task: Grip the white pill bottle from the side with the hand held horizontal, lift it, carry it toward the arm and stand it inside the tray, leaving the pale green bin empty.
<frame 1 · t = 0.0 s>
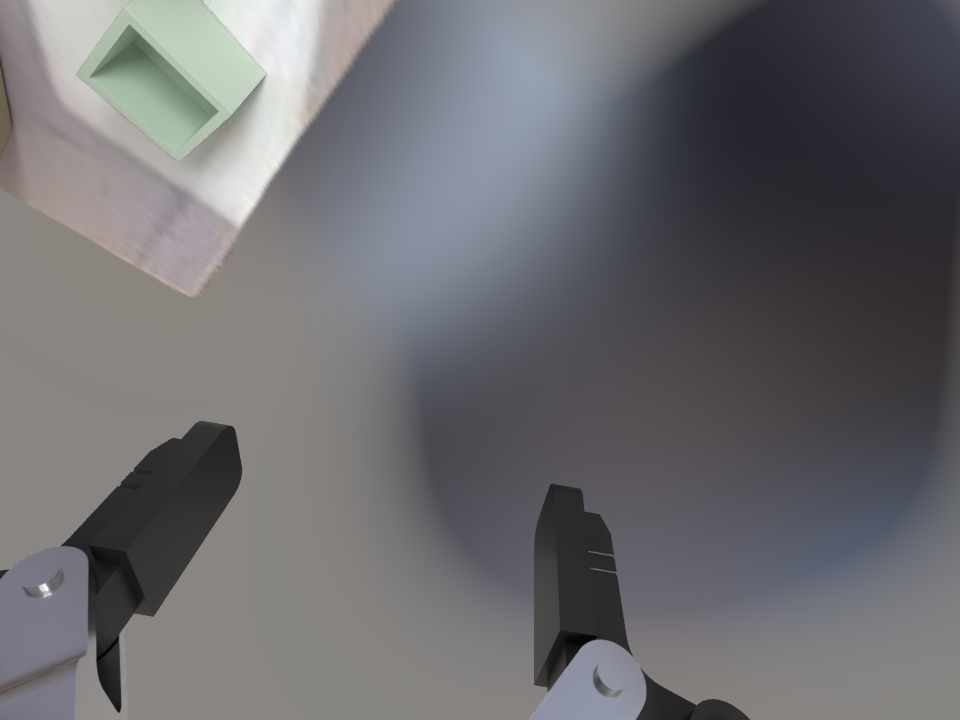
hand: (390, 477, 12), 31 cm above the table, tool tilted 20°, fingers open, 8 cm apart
pale green bin: (197, 55, 36), on the table
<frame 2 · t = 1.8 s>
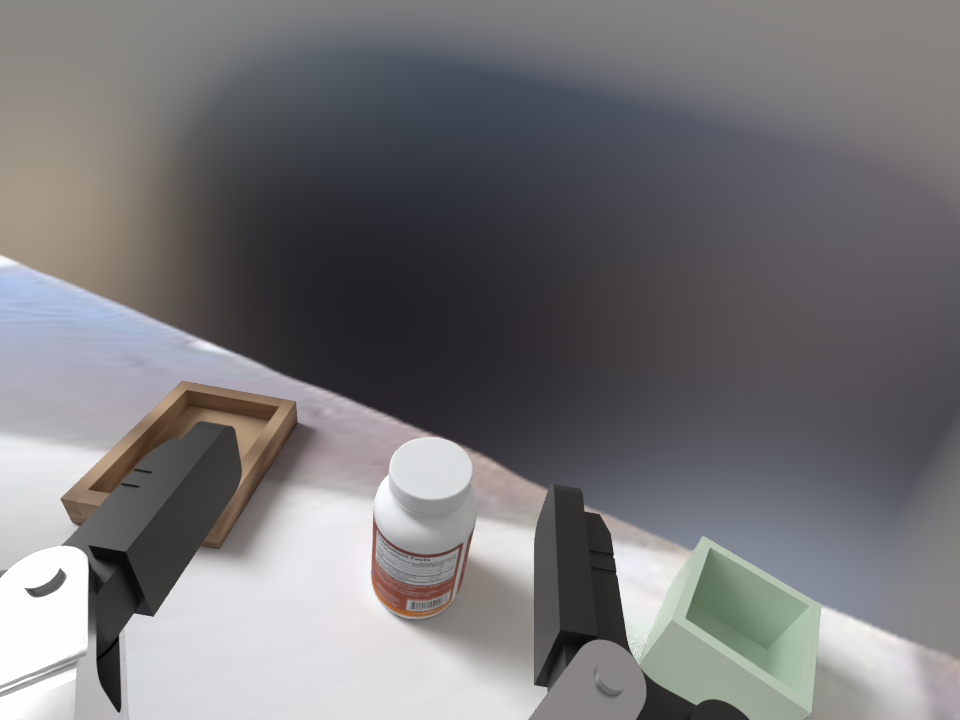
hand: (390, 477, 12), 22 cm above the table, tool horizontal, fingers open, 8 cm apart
pale green bin: (706, 660, 32), on the table
pill bottle: (416, 579, 33), on the table
tray: (200, 464, 38), on the table
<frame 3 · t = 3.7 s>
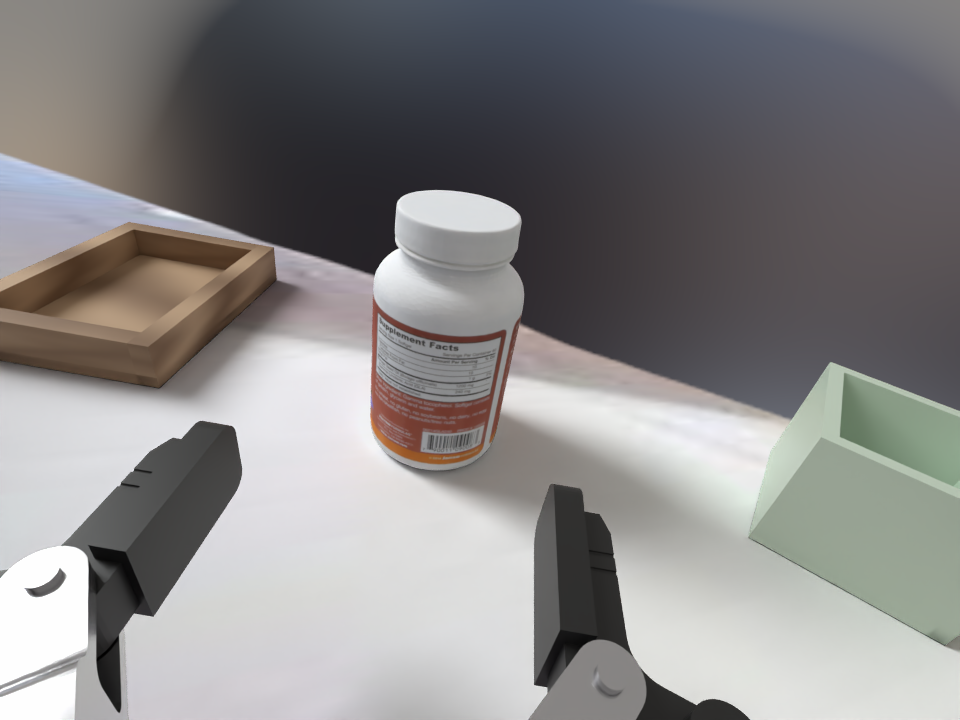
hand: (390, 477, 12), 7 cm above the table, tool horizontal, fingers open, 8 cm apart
pale green bin: (842, 530, 23), on the table
pill bottle: (432, 432, 24), on the table
tray: (146, 309, 29), on the table
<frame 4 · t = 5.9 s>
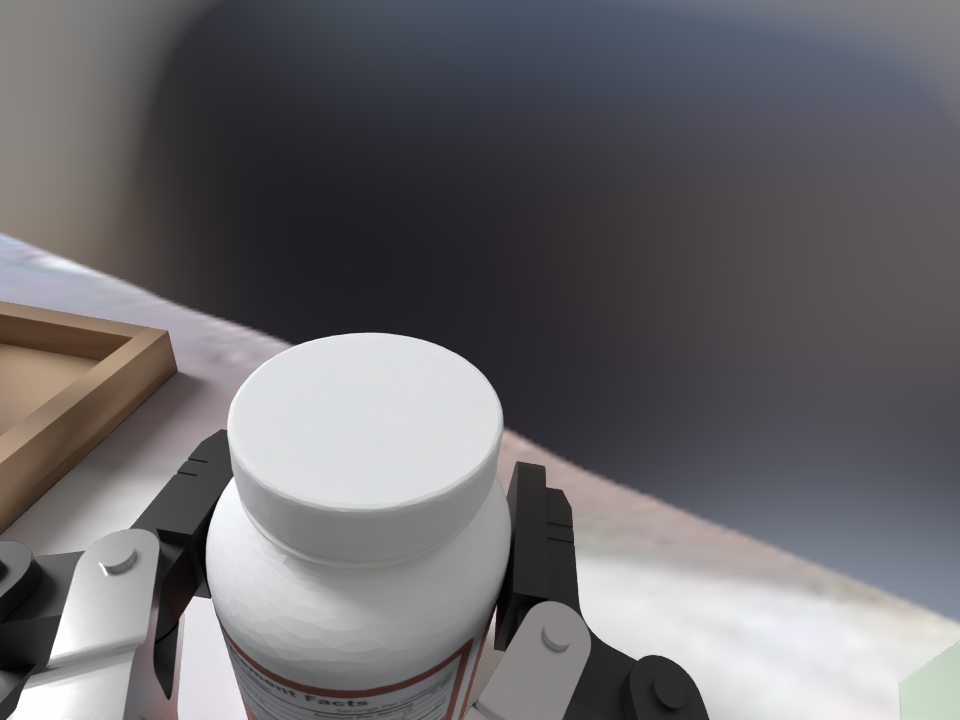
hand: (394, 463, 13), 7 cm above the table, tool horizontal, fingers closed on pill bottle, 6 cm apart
pill bottle: (364, 686, 15), on the table, touching gripper
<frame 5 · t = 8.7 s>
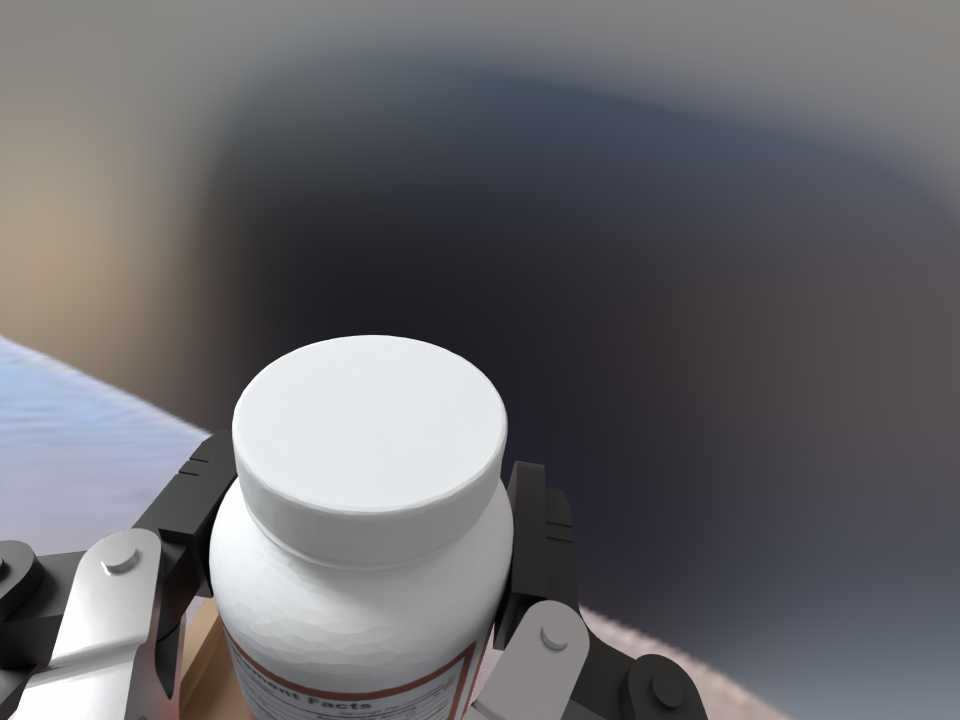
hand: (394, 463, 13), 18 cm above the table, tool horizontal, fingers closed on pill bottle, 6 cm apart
pill bottle: (365, 688, 15), point 10 cm above the table, touching gripper
when the fingers open (8 cm above the table, at t = 11.5 s): pill bottle stays where it is, resting on tray.
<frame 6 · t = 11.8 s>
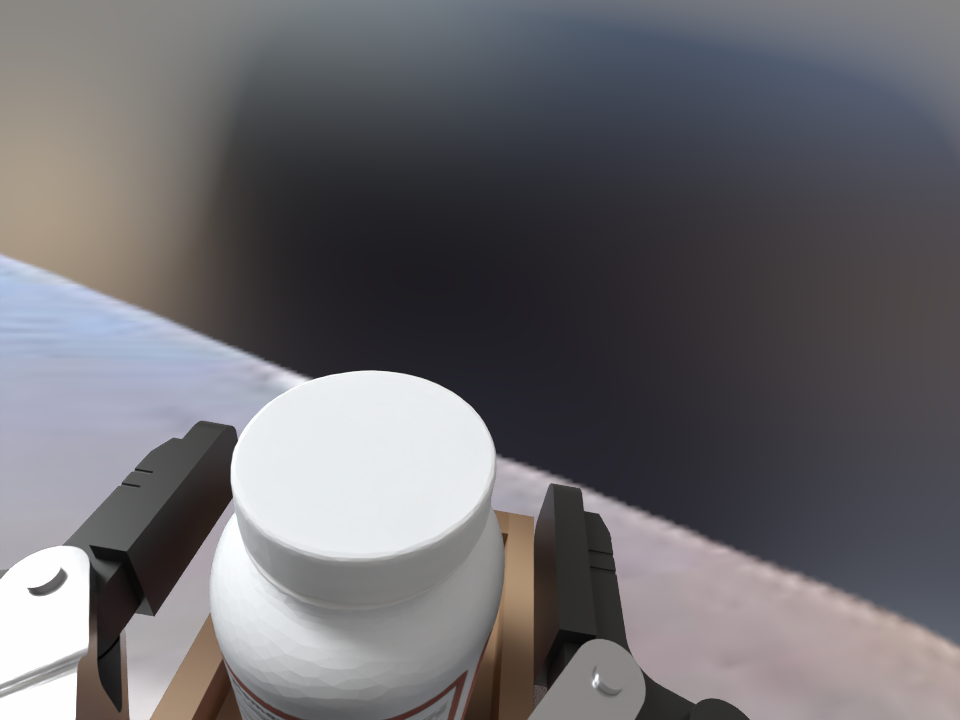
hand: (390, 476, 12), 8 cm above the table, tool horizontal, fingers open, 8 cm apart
pill bottle: (362, 705, 15), resting on tray
tray: (363, 704, 15), on the table
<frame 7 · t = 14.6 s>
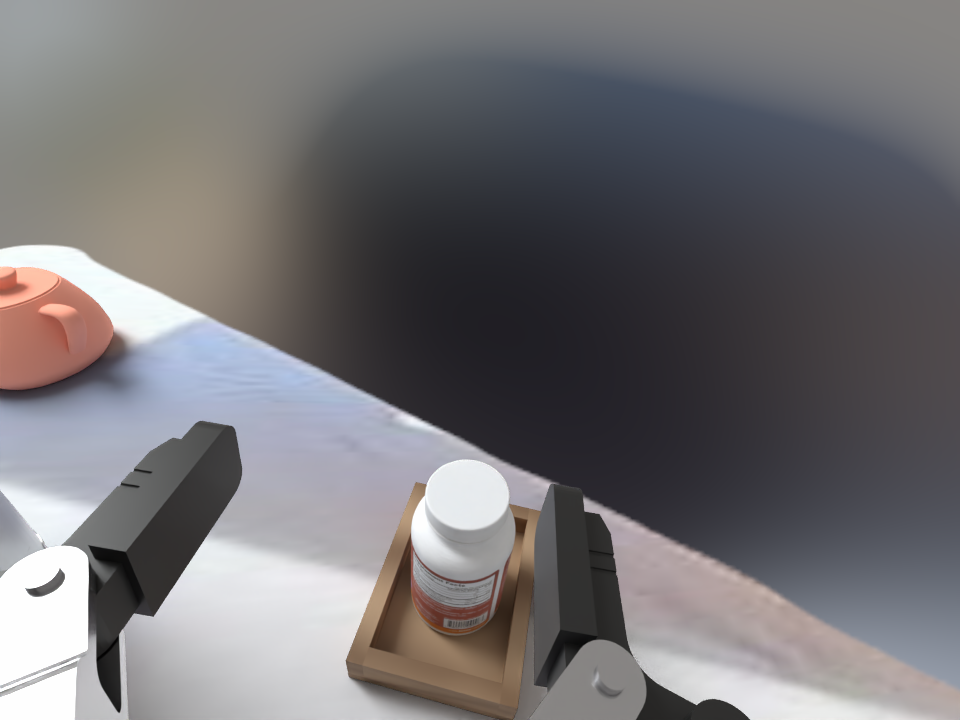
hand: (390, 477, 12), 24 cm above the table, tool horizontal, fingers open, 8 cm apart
teapot: (40, 355, 49), on the table
pill bottle: (455, 593, 33), resting on tray
tray: (455, 593, 34), on the table
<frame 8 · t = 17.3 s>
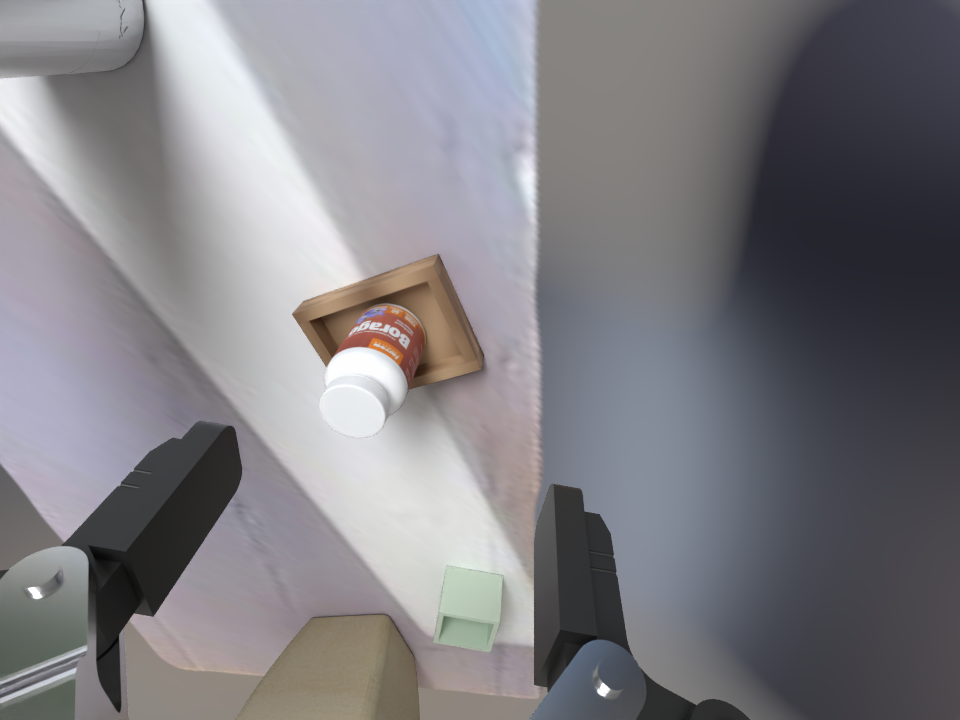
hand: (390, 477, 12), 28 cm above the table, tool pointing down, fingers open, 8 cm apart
flower pot: (363, 635, 74), on the table
pale green bin: (470, 586, 63), on the table
pill bottle: (392, 331, 43), resting on tray
tray: (394, 328, 43), on the table
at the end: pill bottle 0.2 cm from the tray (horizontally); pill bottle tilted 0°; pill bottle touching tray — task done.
